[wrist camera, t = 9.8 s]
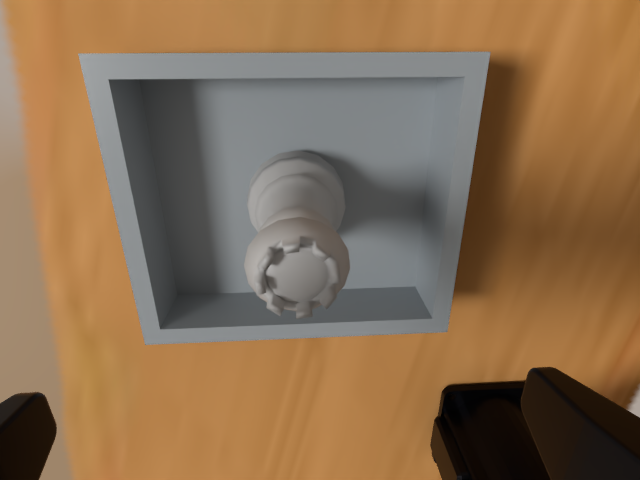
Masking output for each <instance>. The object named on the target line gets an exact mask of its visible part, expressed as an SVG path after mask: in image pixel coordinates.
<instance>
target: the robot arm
mask: <svg viewBox="0 0 640 480" xmlns="http://www.w3.org/2000/svg"><path fill="white" fill-rule="evenodd" d="M451 394H452V395H451ZM56 431H57V427H56V422H55V419H54V417H53V414H52V412H51V409H50V407H49V404H48V401H47V399H46V397H45V395H43V394H42V393H39V392H33V393H19V394H15V395H13V396H11V397H10V398H8V399H7V400H5V401H3V402H2V403H0V480H39V478H40V475H41V473H42V471H43V468H44V466H45V463H46V460H47V458H48V455H49V453H50V450H51V448H52V445H53V443H54V440H55V437H56ZM430 446H431V449H432V457H433V459H434V461H435V463H437V466H438V469H439V472H440V475H441V477H442V480H640V418H639V417H638V416H636V415H634V414H632V413H631V412H629V411H627V410H626V409H624V408H622V407H621V406H619V405H617V404H615V403H614V402H612V401H610V400H609V399H607V398H605V397H604V396H602V395H600V394H598V393H597V392H595V391H593V390H592V389H590V388H588V387H587V386H585V385H583V384H581V383H580V382H578V381H576V380H575V379H573V378H571V377H570V376H568V375H566V374H564V373H563V372H561V371H559V370H558V369H556V368H553V367H539V368H532V369H531V370H530V371H529V372H528V375H527V379H526V382H525V383H510V384H489V385H469V386H450V387H446V388H445V389H444V390H443V391H442V394H441V400H440V406H439V412H438V416H437V417H436V418H435V420H434V426H433V432H432V438H431V445H430Z"/></svg>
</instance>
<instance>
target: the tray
mask: <svg viewBox="0 0 640 480" xmlns="http://www.w3.org/2000/svg"><path fill="white" fill-rule="evenodd" d="M78 55H79V59H80V63H81V68H82V72H83V76H84V81H85V85H86V89H87V94H88V98H89V102H90V107H91V111H92V116H93V120H94V124H95V129H96V133H97V137H98V142H99V146H100V150H101V155H102V159H103V163H104V168H105V172H106V176H107V181H108V185H109V189H110V194H111V198H112V202H113V207H114V211H115V215H116V220H117V224H118V229H119V233H120V237H121V242H122V246H123V250H124V255H125V259H126V263H127V268H128V272H129V276H130V281H131V285H132V289H133V294H134V298H135V302H136V307H137V311H138V315H139V320H140V324H141V328H142V333H143V337H144V342H145V345H150V344H174V343H198V342H222V341H246V340H270V339H294V338H318V337H341V336H365V335H389V334H413V333H437V332H447V330H448V324H449V317H450V311H451V304H452V298H453V292H454V285H455V279H456V272H457V266H458V259H459V253H460V246H461V240H462V233H463V227H464V220H465V214H466V207H467V201H468V194H469V188H470V181H471V175H472V168H473V162H474V155H475V149H476V143H477V136H478V130H479V123H480V117H481V110H482V104H483V97H484V91H485V84H486V78H487V71H488V65H489V58H490V52H339V53H113V54H78ZM298 150H299V151H303V152H307V153H311V154H315V155H318V156H320V157H321V158H322V159H324V160H325V161H326V162H328V163H329V164H330V165H332V166H333V167H334V169H335V170H336V172H337V174H338V176H339V177H340V179H341V181H342V183H343V188H344V197H345V206H346V208H345V212H344V215H343V218H342V221H341V225H340V227H339V228H338V229H337V231H336V232H337V233H338V234H339V236H340V237H341V239H342V241H343V242H344V244H345V245H346V247H347V249H348V252H349V260H350V271H349V274H348V277H347V280H346V283H345V286H344V287H343V288H342V289H341V290H340V291H339V292H338V294H337V298H336V300H335V301H334V302H333V303H332V304H331V305H330V306H329V307H328V309H326V308H325V307H324V306H323V305H321V306H319V307H317V308H315V309H312V316H313V317H308V318H301V319H296V311H291V310H286V309H284V310H283V312H282V314H281V316H279V315H277V314H275V313H274V312H272V311H270V310H269V309H267V308H266V307H267V302H266V301H264V300H262V299H261V298H259V296H257V294H256V293H255V291H254V290H253V289H252V287H251V286H250V285H249V284H248V280H247V276H246V272H245V268H244V262H245V257H246V252H247V248H248V246H249V244H250V243H251V242H252V240H253V239H254V238H255V236H256V235H257V234H258V232H257V230H256V229H255V227H254V226H253V225H252V223H251V221H250V216H249V212H248V207H247V200H248V198H247V196H248V191H249V186H250V181H251V178H252V177H253V175H254V174H255V173H256V171H257V170H258V168H259V167H260V166H261V164H262V163H264V162H265V161H267V160H269V159H270V158H272V157H274V156H275V155H277V154H279V153H285V152H291V151H298Z"/></svg>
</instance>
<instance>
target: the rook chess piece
mask: <svg viewBox="0 0 640 480" xmlns="http://www.w3.org/2000/svg"><path fill="white" fill-rule="evenodd" d="M247 198H248V200H247V207H248V212H249V216H250V221H251V223H252V225H253V226H254V227H255V229H256V230H257V232H258V234H257V235H256V236H255V238H254V239H253V240H252V242H251V243H250V244H249V246H248V248H247V252H246V257H245V262H244V268H245V272H246V276H247V280H248V284H249V285H250V286H251V287H252V289H253V290H254V291H255V293H256V294H257V296H259V298H261V299H262V300H264V301H266V302H267V307H266V308H267V309H269V310H270V311H272V312H274V313H275V314H277V315H279V316H281V314H282V312H283V310H284V309H286V310H291V311H296V319H301V318H308V317H313V316H312V309H315V308H317V307H319V306H321V305H323V306H324V307H325V308H326V309H328V307H329V306H330V305H331V304H332V303H333V302H334V301H335V300H336V298H337V294H338V292H339V291H340V290H341V289H342V288H343V287H344V286H345V283H346V280H347V277H348V274H349V271H350V260H349V252H348V249H347V247H346V245H345V244H344V242H343V241H342V239H341V237H340V236H339V234H338V233H337V232H336V231H337V229H338V228H339V227H340V225H341V221H342V218H343V215H344V212H345V208H346V206H345V197H344V188H343V183H342V181H341V179H340V177H339V176H338V174H337V172H336V170H335V169H334V167H333V166H332V165H330V164H329V163H328V162H326V161H325V160H324V159H322V158H321V157H320V156H318V155H315V154H311V153H307V152H303V151H299V150H298V151H291V152H285V153H279V154H277V155H275V156H274V157H272V158H270V159H269V160H267V161H265V162H264V163H262V164H261V166H260V167H259V168H258V170H257V171H256V173H255V174H254V175H253V177H252V178H251V181H250V186H249V191H248V196H247Z"/></svg>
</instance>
